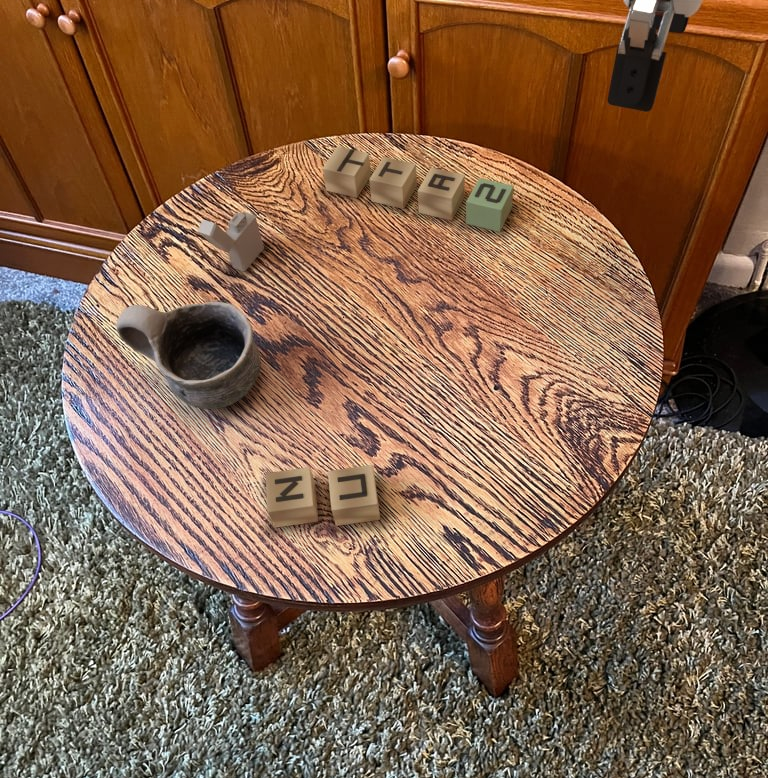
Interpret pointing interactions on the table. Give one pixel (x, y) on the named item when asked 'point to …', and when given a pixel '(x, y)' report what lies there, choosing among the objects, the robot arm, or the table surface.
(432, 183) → the right tile
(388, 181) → the right tile t
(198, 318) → the mug
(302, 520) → the left tile
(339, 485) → the left tile
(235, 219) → the grey y-shaped block
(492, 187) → the green number block
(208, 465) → the table surface
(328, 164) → the beige letter block
